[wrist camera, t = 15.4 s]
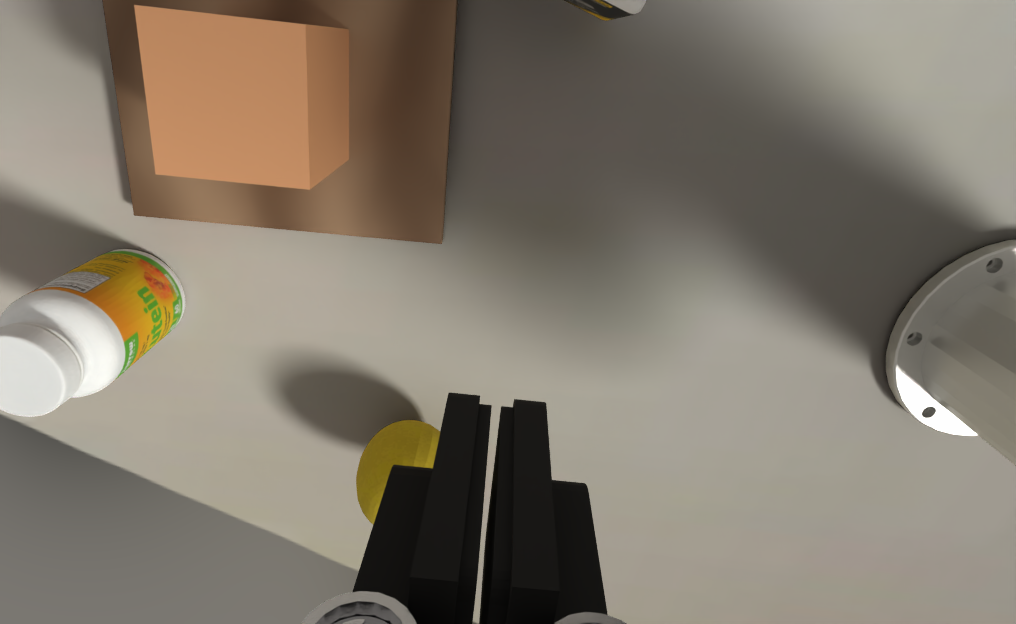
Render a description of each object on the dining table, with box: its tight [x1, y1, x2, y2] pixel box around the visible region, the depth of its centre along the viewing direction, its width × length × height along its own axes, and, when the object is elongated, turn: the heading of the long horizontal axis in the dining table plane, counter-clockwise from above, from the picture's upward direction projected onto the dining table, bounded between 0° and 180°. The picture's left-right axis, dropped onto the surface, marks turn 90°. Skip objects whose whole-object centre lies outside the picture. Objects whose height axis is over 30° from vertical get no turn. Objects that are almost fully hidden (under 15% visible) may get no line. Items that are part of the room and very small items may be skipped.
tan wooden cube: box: [134, 5, 349, 190], centre depth 26 cm, size 6×6×7 cm
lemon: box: [356, 420, 440, 525], centre depth 35 cm, size 6×6×8 cm
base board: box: [102, 0, 458, 244], centre depth 30 cm, size 16×14×1 cm
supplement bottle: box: [0, 249, 185, 417], centre depth 30 cm, size 5×5×10 cm
